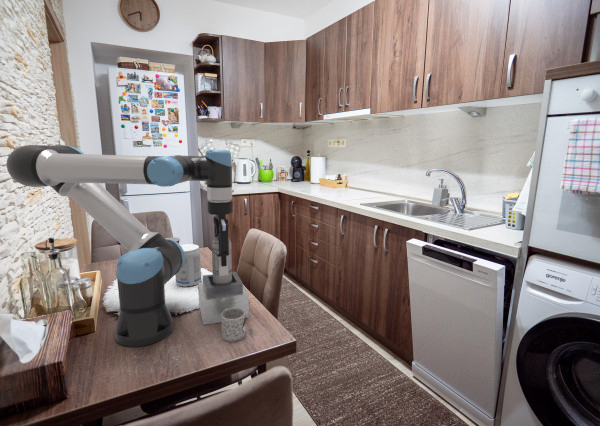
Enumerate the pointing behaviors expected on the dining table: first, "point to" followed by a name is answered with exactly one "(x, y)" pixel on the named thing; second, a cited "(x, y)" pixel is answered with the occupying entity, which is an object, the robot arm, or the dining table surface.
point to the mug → (233, 324)
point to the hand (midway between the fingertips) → (222, 271)
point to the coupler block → (221, 298)
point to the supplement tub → (190, 266)
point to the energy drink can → (215, 264)
